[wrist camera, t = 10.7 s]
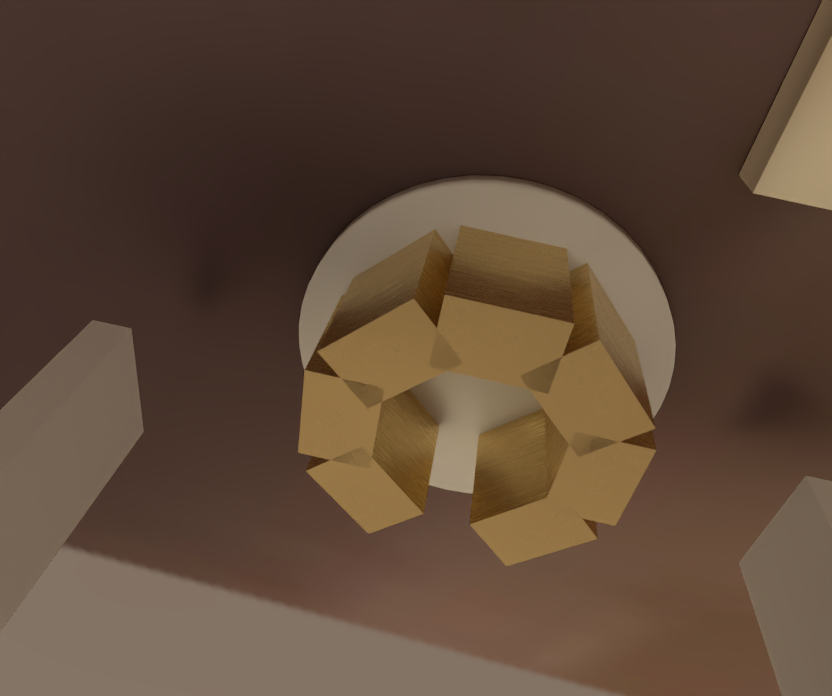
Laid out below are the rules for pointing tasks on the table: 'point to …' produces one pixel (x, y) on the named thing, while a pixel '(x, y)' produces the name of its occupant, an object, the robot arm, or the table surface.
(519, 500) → the c link
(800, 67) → the peg stand
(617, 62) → the table surface
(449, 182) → the coaster
